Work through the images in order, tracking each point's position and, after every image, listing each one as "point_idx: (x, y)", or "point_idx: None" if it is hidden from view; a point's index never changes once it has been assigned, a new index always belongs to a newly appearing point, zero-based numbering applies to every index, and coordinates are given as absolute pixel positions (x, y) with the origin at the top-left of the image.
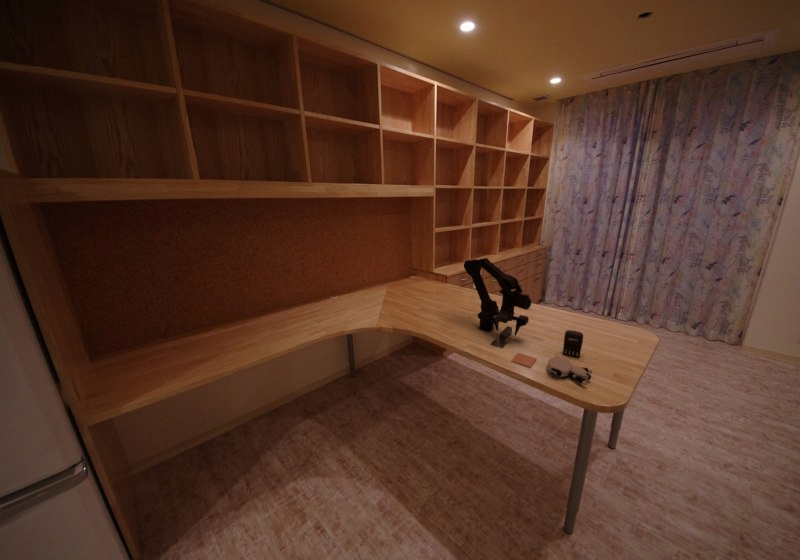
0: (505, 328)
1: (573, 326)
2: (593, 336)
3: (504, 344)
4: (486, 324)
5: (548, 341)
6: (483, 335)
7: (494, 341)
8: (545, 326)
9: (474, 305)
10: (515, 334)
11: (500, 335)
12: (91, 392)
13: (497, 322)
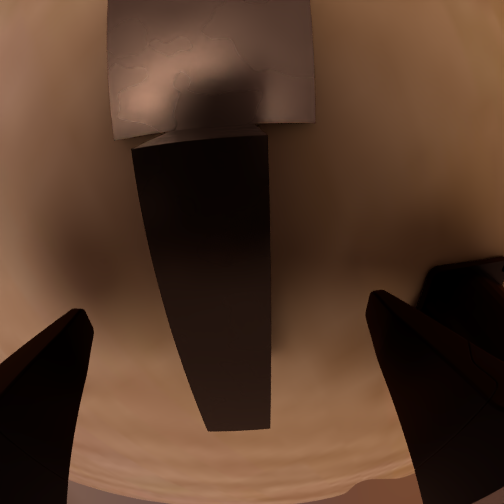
0: (262, 383)
1: (85, 470)
2: None
3: (119, 33)
4: (496, 316)
5: None
6: (464, 150)
7: (289, 16)
8: (136, 466)
9: None
10: (65, 316)
11: (244, 129)
12: None
13: (431, 413)
